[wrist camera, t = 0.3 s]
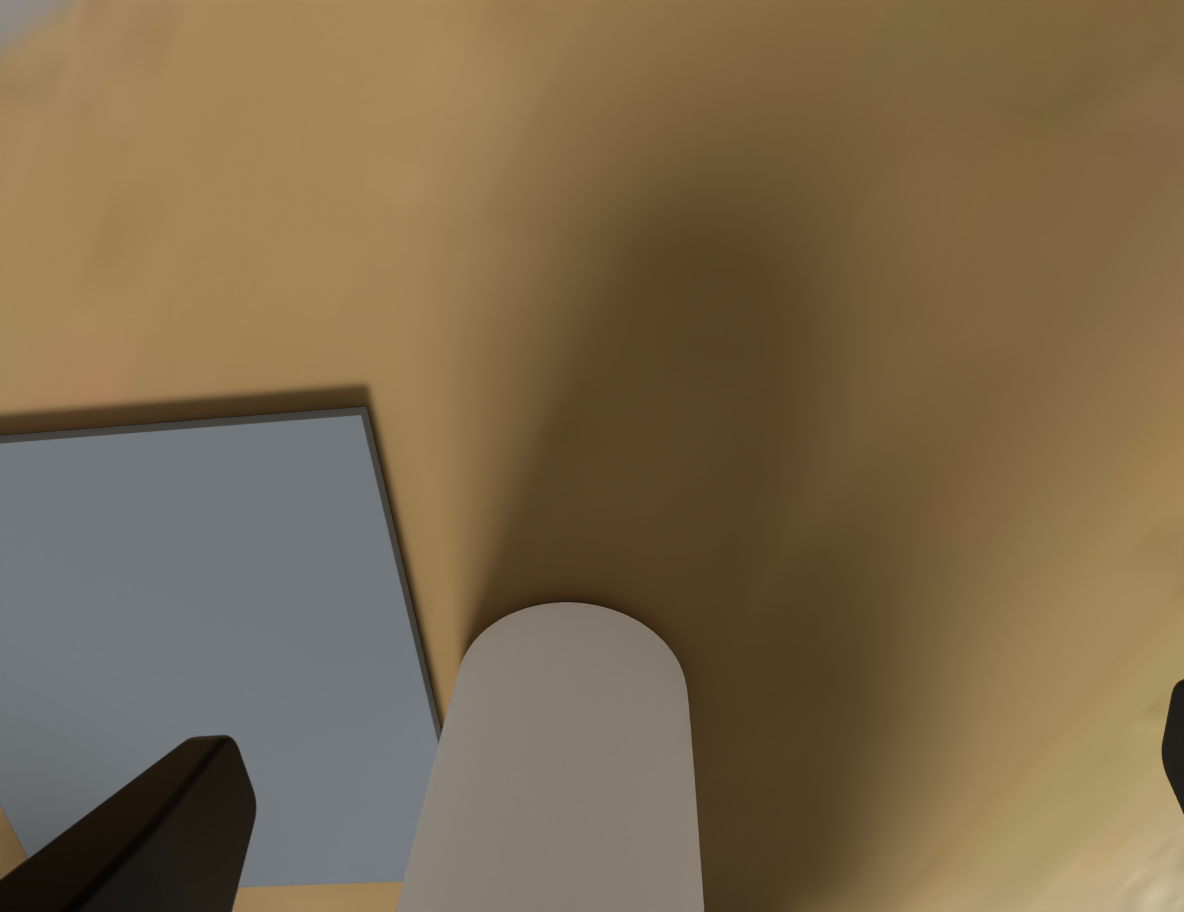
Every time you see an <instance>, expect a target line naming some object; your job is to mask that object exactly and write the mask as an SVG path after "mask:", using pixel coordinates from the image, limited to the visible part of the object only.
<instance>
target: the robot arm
mask: <svg viewBox="0 0 1184 912" xmlns="http://www.w3.org/2000/svg"><path fill="white" fill-rule="evenodd" d="M1162 760H1163V765H1164V769H1165V772H1166V775H1167V777H1168V780H1169V782H1170V784H1171V786H1172V789H1173V791H1174V793H1175V795H1176V798H1177V800H1178V802H1179V804H1180V807H1181V809H1182V811H1183V813H1184V679H1183V680H1181V681H1179V682H1178V683H1177V684H1176V685H1175V687H1174V688H1173V691H1172V695H1171V700H1170V705H1169V711H1168V716H1167V721H1166V726H1165V732H1164V737H1163V742H1162ZM256 810H257V803H256V796H255V792H254V789H253V786H252V784H251V781H250V778H249V775H248V772H247V769H246V767H245V764H244V761H243V758H242V755H241V752H240V750H239V747H238V745H237V743H236V741H235V740H234V739H233V738H232V737H231V736H228V735H209V736H196V737H191V738H189V739H187V740H185V741H184V742H182V743H181V744H180V745H178V746H177V747H176V748H174V749H173V750H172V751H170V752H169V753H168V754H166V755H165V756H164V757H162V758H161V759H160V760H158V761H157V762H156V763H154V764H153V765H152V766H150V767H149V768H148V769H146V770H145V771H144V772H142V773H141V774H140V775H138V776H137V777H136V778H134V779H133V780H132V781H130V782H129V783H128V784H126V785H125V786H124V787H122V788H121V789H120V790H118V791H117V792H116V793H114V794H113V795H112V796H111V797H109V798H108V799H107V800H105V801H104V802H103V803H101V804H100V805H99V806H97V807H96V808H95V809H93V810H92V811H91V812H89V813H88V814H87V815H85V816H84V817H83V818H81V819H80V820H79V821H77V822H76V823H75V824H73V825H72V826H71V827H69V828H68V829H67V830H65V831H64V832H63V833H61V834H60V835H59V836H57V837H56V838H55V839H53V840H52V841H51V842H49V843H48V844H47V845H45V846H44V847H43V848H42V849H40V850H39V851H38V852H36V853H35V854H34V855H32V856H31V857H30V858H28V859H27V860H26V861H24V862H23V863H22V864H20V865H19V866H18V867H16V868H15V869H14V870H12V871H11V872H10V873H8V874H7V875H6V876H4V877H3V878H2V879H0V912H232V909H233V905H234V901H235V898H236V894H237V890H238V886H239V882H240V878H241V874H242V870H243V866H244V862H245V858H246V855H247V851H248V847H249V843H250V839H251V835H252V831H253V827H254V823H255V819H256Z"/></svg>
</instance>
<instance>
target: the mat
mask: <svg viewBox="0 0 1184 912" xmlns="http://www.w3.org/2000/svg"><path fill="white" fill-rule="evenodd" d="M441 733H442V732H441V728H440V723H439V719H438V715H437V710H436V706H435V702H434V697H433V693H432V689H431V684H430V680H429V676H428V671H427V667H426V663H425V658H424V654H423V650H422V645H421V641H420V637H419V632H418V628H417V624H416V619H415V615H414V611H413V606H412V602H411V598H410V593H409V589H408V585H407V580H406V576H405V572H404V567H403V563H402V559H401V554H400V550H399V546H398V541H397V537H396V533H395V528H394V524H393V520H392V515H391V511H390V507H389V502H388V498H387V494H386V489H385V485H384V480H383V476H382V472H381V467H380V463H379V459H378V454H377V450H376V446H375V441H374V437H373V433H372V428H371V424H370V420H369V415H368V411H367V407H354V408H342V409H329V410H317V411H304V412H292V413H279V414H267V415H254V416H241V417H229V418H216V419H204V420H191V421H179V422H166V423H154V424H141V425H128V426H116V427H103V428H91V429H78V430H66V431H53V432H41V433H28V434H15V435H3V436H0V806H1V808H2V810H3V812H4V814H5V815H6V817H7V819H8V821H9V823H10V825H11V827H12V829H13V831H14V832H15V834H16V836H17V838H18V840H19V842H20V844H21V846H22V848H23V849H24V851H25V853H26V855H27V857H28V858H30V857H31V856H32V855H34V854H35V853H36V852H38V851H39V850H40V849H42V848H43V847H44V846H45V845H47V844H48V843H49V842H51V841H52V840H53V839H55V838H56V837H57V836H59V835H60V834H61V833H63V832H64V831H65V830H67V829H68V828H69V827H71V826H72V825H73V824H75V823H76V822H77V821H79V820H80V819H81V818H83V817H84V816H85V815H87V814H88V813H89V812H91V811H92V810H93V809H95V808H96V807H97V806H99V805H100V804H101V803H103V802H104V801H105V800H107V799H108V798H109V797H111V796H112V795H113V794H114V793H116V792H117V791H118V790H120V789H121V788H122V787H124V786H125V785H126V784H128V783H129V782H130V781H132V780H133V779H134V778H136V777H137V776H138V775H140V774H141V773H142V772H144V771H145V770H146V769H148V768H149V767H150V766H152V765H153V764H154V763H156V762H157V761H158V760H160V759H161V758H162V757H164V756H165V755H166V754H168V753H169V752H170V751H172V750H173V749H174V748H176V747H177V746H178V745H180V744H181V743H182V742H184V741H185V740H187V739H189V738H191V737H196V736H209V735H228V736H231V737H232V738H233V739H234V740H235V741H236V743H237V745H238V747H239V750H240V752H241V755H242V758H243V761H244V764H245V767H246V769H247V772H248V775H249V778H250V781H251V784H252V786H253V789H254V792H255V796H256V803H257V810H256V819H255V823H254V827H253V831H252V835H251V839H250V843H249V847H248V851H247V855H246V858H245V862H244V866H243V870H242V874H241V878H240V882H239V886H238V887H259V886H287V885H314V884H342V883H370V882H398V881H404V877H405V873H406V869H407V865H408V861H409V857H410V853H411V849H412V845H413V841H414V837H415V834H416V830H417V826H418V822H419V818H420V814H421V810H422V806H423V802H424V798H425V795H426V791H427V787H428V783H429V779H430V775H431V771H432V767H433V764H434V760H435V756H436V752H437V748H438V744H439V741H440V737H441Z"/></svg>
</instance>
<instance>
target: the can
mask: <svg viewBox="0 0 1184 912" xmlns="http://www.w3.org/2000/svg"><path fill="white" fill-rule="evenodd" d="M396 912H704V900H703V886H702V873H701V859H700V845H699V831H698V817H697V804H696V790H695V777H694V764H693V751H692V738H691V726H690V714H689V703H688V694H687V687H686V682H685V678H684V674H683V671H682V669H681V666H680V664H679V662H678V660H677V658H676V657H675V655H674V654H673V652H672V651H671V649H670V648H669V647H668V646H667V644H666V643H665V642H664V641H663V640H662V639H661V638H660V637H659V636H658V635H657V634H655V633H654V632H653V631H652V630H651V629H649V628H648V627H646V626H645V625H643V624H642V623H640V622H639V621H637V620H635V619H633V618H631V617H629V616H627V615H625V614H623V613H620V612H618V611H615V610H612V609H609V608H605V607H601V606H597V605H592V604H586V603H576V602H559V603H549V604H542V605H537V606H532V607H529V608H525V609H522V610H519V611H517V612H514V613H512V614H510V615H507V616H505V617H504V618H502V619H500V620H498V621H497V622H495V623H494V624H492V625H491V626H489V627H488V628H487V629H486V630H485V631H483V632H482V633H481V634H480V635H479V636H478V637H477V638H476V640H475V641H474V642H473V643H472V644H471V646H470V647H469V649H468V650H467V652H466V654H465V656H464V658H463V660H462V663H461V665H460V668H459V671H458V674H457V677H456V681H455V684H454V688H453V691H452V695H451V699H450V703H449V706H448V710H447V714H446V718H445V721H444V725H443V729H442V733H441V737H440V741H439V744H438V748H437V752H436V756H435V760H434V764H433V767H432V771H431V775H430V779H429V783H428V787H427V791H426V795H425V798H424V802H423V806H422V810H421V814H420V818H419V822H418V826H417V830H416V834H415V837H414V841H413V845H412V849H411V853H410V857H409V861H408V865H407V869H406V873H405V877H404V881H403V884H402V888H401V892H400V896H399V900H398V904H397V908H396Z"/></svg>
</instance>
